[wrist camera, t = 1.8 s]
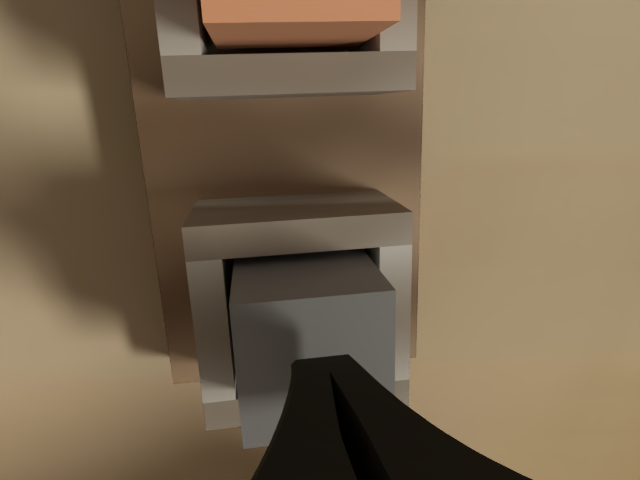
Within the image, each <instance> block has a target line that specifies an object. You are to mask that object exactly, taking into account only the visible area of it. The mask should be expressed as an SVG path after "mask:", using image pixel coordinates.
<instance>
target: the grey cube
mask: <svg viewBox="0 0 640 480" xmlns="http://www.w3.org/2000/svg"><path fill="white" fill-rule="evenodd" d="M229 310H230V320H231V330H232V341H233V351H234V361H235V372H236V382H237V392H238V402H239V413H240V423H241V433H242V444H243V449H249V448H256V447H264V446H269V444H270V441H271V439H272V437H273V434H274V432H275V429H276V427H277V424H278V422H279V419H280V417H281V414H282V411H283V407H284V404H285V401H286V398H287V395H288V390H289V386H290V381H291V364H292V363H293V362H294V361H295V360H298V359H307V358H317V357H326V356H335V355H345V354H349V355H350V356H351V357H352V358H353V359H354V360H356V361H357V362H358V363H359V364H360V365H361V366H362V367H363V368H364V369H365V370H366V371H367V372H368V373H369V374H371V375H372V376H373V377H374V378H375V379H376V380H377V381H378V382H379V383H380V384H382V385H383V386H384V387H385V388H386V389H387V390H388V391H390V392H391V393H392V394H393V395H394V396H395V331H396V290H395V289H394V287H393V286H392V285H391V284H390V282H389V281H388V280H387V279H386V277H385V276H384V275H383V274H382V272H381V271H380V270H379V269H378V267H377V266H376V265H375V264H374V262H373V261H372V260H371V259H370V258H369V256H368V255H367V254H366V253H365V251H364V250H363V249H350V250H337V251H324V252H311V253H298V254H285V255H272V256H259V257H246V258H234V265H233V274H232V283H231V292H230V302H229Z"/></svg>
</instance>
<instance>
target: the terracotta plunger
mask: <svg viewBox="0 0 640 480" xmlns="http://www.w3.org/2000/svg"><path fill="white" fill-rule="evenodd" d="M201 9H202V19H203V24H204V26H205V28H206V30H207V31H208V33H209V35H210V37H211V39H212V41H213V42H214V44H215V46H216V48H217V49H234V48H288V47H341V46H359V45H360V44H362V43H364V42H365V41H367V40H369V39H370V38H372V37H374V36H376V35H377V34H379V33H381V32H382V31H384V30H386V29H387V28H389V27H391V26H392V25H394V24H396V23H397V22H399V21H400V14H401V0H201Z"/></svg>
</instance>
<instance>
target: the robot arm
mask: <svg viewBox="0 0 640 480" xmlns="http://www.w3.org/2000/svg"><path fill="white" fill-rule="evenodd" d="M251 480H532V479H530V478H528V477H526V476H523V475H521V474H519V473H517V472H515V471H513V470H511V469H509V468H507V467H505V466H503V465H501V464H499V463H497V462H495V461H493V460H491V459H489V458H487V457H486V456H484V455H482V454H480V453H478V452H476V451H475V450H473V449H471V448H469V447H468V446H466V445H464V444H463V443H461V442H459V441H458V440H456V439H455V438H453V437H451V436H450V435H448V434H446V433H445V432H443V431H442V430H440V429H439V428H437V427H436V426H434V425H433V424H431V423H430V422H428V421H427V420H426V419H424V418H423V417H422V416H420V415H419V414H417V413H416V412H415V411H413V410H412V409H411V408H409V407H408V406H407V405H405V404H404V403H403V402H402V401H400V400H399V399H398V398H397V397H396V396H394V395H393V394H392V393H391V392H390V391H388V390H387V389H386V388H385V387H384V386H383V385H382V384H380V383H379V382H378V381H377V380H376V379H375V378H374V377H373V376H372V375H371V374H369V373H368V372H367V371H366V370H365V369H364V368H363V367H362V366H361V365H360V364H359V363H358V362H357V361H356V360H354V359H353V358H352V357H351V356H350V355H349V354H345V355H335V356H326V357H317V358H307V359H298V360H295V361H294V362H293V363H292V364H291V381H290V386H289V390H288V395H287V398H286V401H285V404H284V407H283V411H282V414H281V417H280V419H279V422H278V424H277V427H276V429H275V432H274V434H273V437H272V439H271V441H270V444H269V446H268V448H267V450H266V452H265V454H264V456H263V458H262V460H261V462H260V464H259V466H258V468H257V470H256V472H255V474H254V475H253V477H252V479H251Z"/></svg>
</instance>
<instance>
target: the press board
mask: <svg viewBox="0 0 640 480" xmlns="http://www.w3.org/2000/svg"><path fill="white" fill-rule="evenodd" d="M119 1H120V8H121V15H122V22H123V29H124V36H125V44H126V51H127V58H128V65H129V72H130V79H131V86H132V93H133V100H134V108H135V115H136V122H137V129H138V136H139V143H140V150H141V157H142V164H143V171H144V179H145V186H146V193H147V200H148V207H149V214H150V221H151V228H152V235H153V242H154V250H155V257H156V264H157V271H158V278H159V285H160V292H161V299H162V306H163V313H164V321H165V328H166V335H167V342H168V349H169V356H170V363H171V370H172V377H173V384H179V383H188V382H197V381H200V384H201V393H202V401H203V409H204V417H205V425H206V431H209V430H218V429H226V428H234V427H241V423H240V413H239V402H238V392H237V382H236V372H235V361H234V351H233V341H232V330H231V320H230V310H229V302H230V292H231V283H232V274H233V265H234V258H246V257H259V256H272V255H285V254H298V253H311V252H324V251H337V250H350V249H363V250H364V251H365V253H366V254H367V255H368V256H369V258H370V259H371V260H372V261H373V262H374V264H375V265H376V266H377V267H378V269H379V270H380V271H381V272H382V274H383V275H384V276H385V277H386V279H387V280H388V281H389V282H390V284H391V285H392V286H393V287H394V289H395V290H396V331H395V396H396V397H397V398H398V399H399V400H400V401H402V402H403V403H404V404H405V405H407V406H409V370H410V358H415V357H416V340H417V303H418V265H419V227H420V190H421V152H422V114H423V77H424V39H425V2H426V0H401V14H400V21H399V22H397V23H396V24H394V25H392V26H391V27H389V28H387V29H386V30H384V31H382V32H381V33H379V34H377V35H376V36H374V37H372V38H370V39H369V40H367V41H365V42H364V43H362V44H360V45H359V46H341V47H288V48H234V49H217V48H216V46H215V44H214V42H213V41H212V39H211V37H210V35H209V33H208V31H207V30H206V28H205V26H204V24H203V19H202V9H201V0H119Z"/></svg>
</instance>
